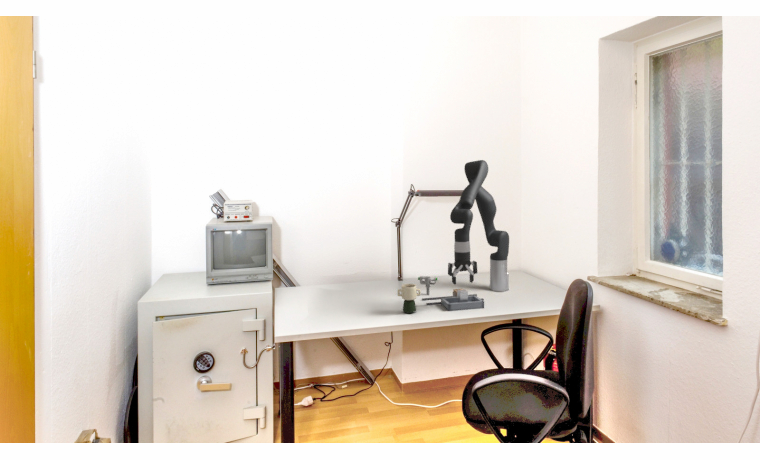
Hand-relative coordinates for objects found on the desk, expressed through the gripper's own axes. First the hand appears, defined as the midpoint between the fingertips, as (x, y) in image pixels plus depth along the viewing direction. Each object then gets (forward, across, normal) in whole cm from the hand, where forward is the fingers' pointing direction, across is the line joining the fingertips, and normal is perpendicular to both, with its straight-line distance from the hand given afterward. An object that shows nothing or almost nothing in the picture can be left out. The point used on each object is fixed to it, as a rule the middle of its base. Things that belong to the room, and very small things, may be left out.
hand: (462, 283), depth 205 cm
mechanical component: (+12, +10, -25) cm, 29 cm away
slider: (+12, -2, -11) cm, 16 cm away
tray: (+12, +1, 0) cm, 12 cm away
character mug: (+12, +28, +1) cm, 30 cm away
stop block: (+11, 0, 0) cm, 11 cm away
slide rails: (+12, +2, -11) cm, 16 cm away
